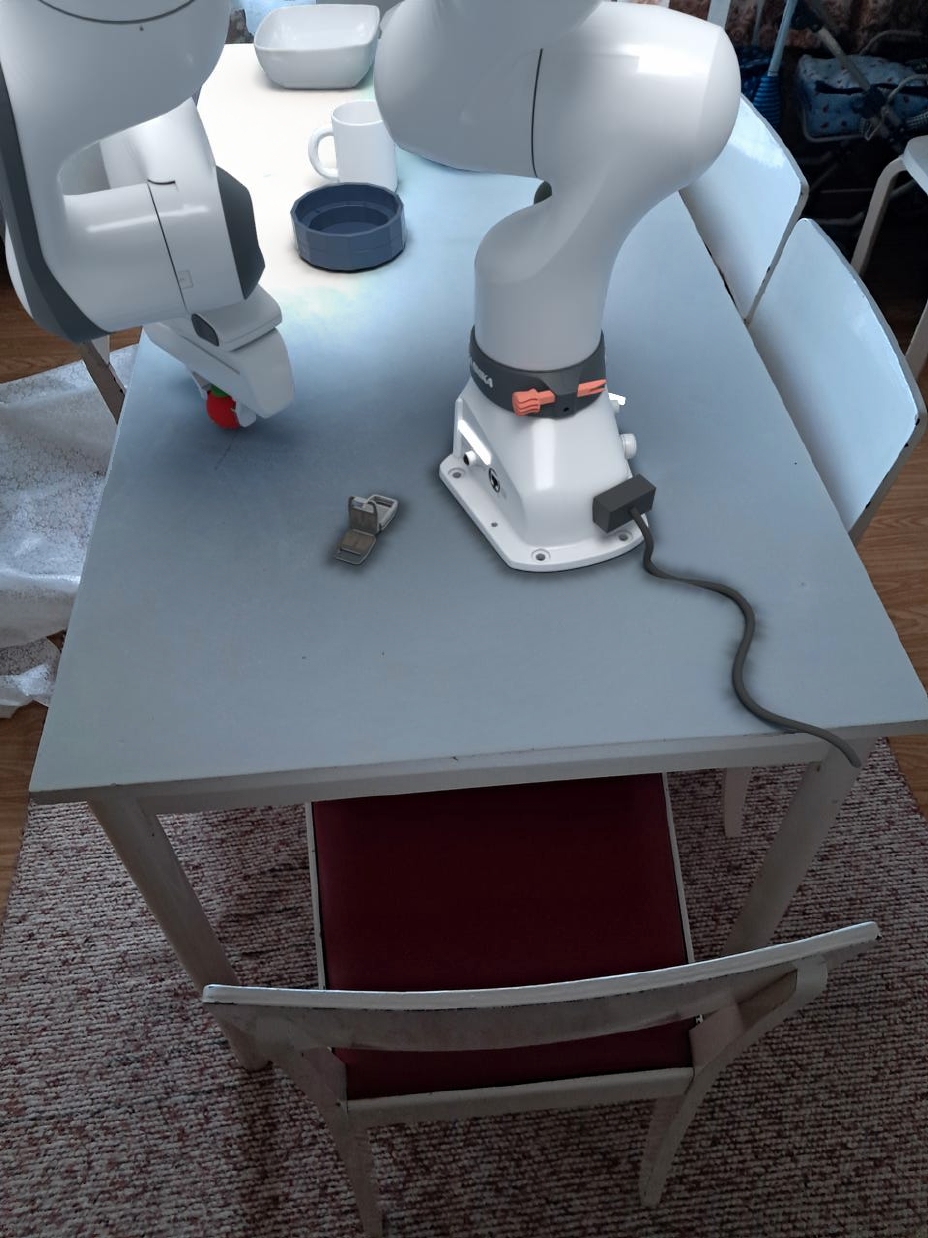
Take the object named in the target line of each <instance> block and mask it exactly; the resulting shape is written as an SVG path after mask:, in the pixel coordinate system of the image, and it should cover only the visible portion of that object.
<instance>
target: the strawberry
mask: <svg viewBox="0 0 928 1238" xmlns="http://www.w3.org/2000/svg"><path fill="white" fill-rule="evenodd" d="M205 401H206V400H205ZM234 406H236V402H235V401H234V400H233V399H232V397H231V396H230V395H228V394H227V393H225V392H224V391H223V390H221V389H220V388H218V387H217V386H215V385H214V384H211V392H210V394H209V395H208V398H207V401H206V402H205V408H206V412H207V415H208V417H209V418H210V420H211V421H212V422H213V423H214V424H215V425H217V426H218V427H220V428H223V429H237V428H239V427H241V426H242V425H240V424H239V423H238V422H236V421H235V420H234V419H233V414H232V411H231V408H232V407H234Z"/></svg>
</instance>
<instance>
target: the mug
mask: <svg viewBox="0 0 928 1238" xmlns="http://www.w3.org/2000/svg"><path fill="white" fill-rule="evenodd" d="M330 119H331V120H330V121H331V122H327V123H323V124H321V125H319V126H318V127H317V128H316V129H314V130H313V132H312V134H311V135H310V138H309V141H308V146H307V153H308V159H309V162H310V165H311V166H312V168H313V169H314V171H315V172H316V173H317V174H318V175H319V176H321V177H322V178H323V179H326V180H329V181H338V183H343V182H362V183H371V184H375V185H379V186H383V187H386V188H388V189H390V190H391V191H393V192H395V193H396V191H397V189H398V166H397V165H398V163H397V151H396V143H395V142H394V141H393V139H392V138H391V136H390V135H389V133H388V131H387V129H386V128H385V126H384V123H383V121H382V119H381V116H380V113H379V110H378V106H377V103H376V99H355V100H348V101H345V102H343V103H339V104H338V105H336V106H334V107H333V109H332V110H331V112H330ZM327 137H333V143H334V152H335V161H336V167H337V168H328V167H327V166H325V165H324V164H323V163H322V161H321V160H320V157H319V156H320V155H319V145H320V143H321V141H322V140H323V139H324V138H327Z"/></svg>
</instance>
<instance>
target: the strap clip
mask: <svg viewBox="0 0 928 1238" xmlns="http://www.w3.org/2000/svg"><path fill="white" fill-rule="evenodd" d="M354 502H358V503H361V504H363V505H362V507H359V506H356V505H355V503H354ZM380 503H381V504H380ZM383 504H385V505H383ZM386 505H388V506H386ZM389 506H390V507H389ZM398 509H399V502H398V500H397V499H394V498H391V497H388V496H385V495H380V494H376V493H375V494H372V495H370V496H369V497H368V498H364V497H361V496H358V495H355V494H352V495H350V496H349V498H348V502H347V510H348V519H349V526H350V527H351V528H352V529H348V531H347V532H346V533H345V534H344V535H343V537H342V539H340V540H339V541H338V543H337V544H336V546H335V548H334V549H333V554H332V555H333V557H334V558H335V559H338V560H341V561H345V562H347V563H350V564H353V565H360V564H361V563H363V562H364V561H365V560H366V558H368V556H369V554H370V552H371V550H372V549H373V547H374V545H375V543H376V541H377V539H376V535H377V534H378V533H379V532H380V531H384V530H385V528H387V527H388V525H389V524H390V522H391V521H392V520H393V518H394V517H395V516H396V514H397V512H398ZM342 550H343V551H347V552H349V553H353V554H356V555H360V556H359V557H358V558H357V559H356V558H352V557H349V556H345V555H342V554H339V553H341V551H342Z"/></svg>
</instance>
